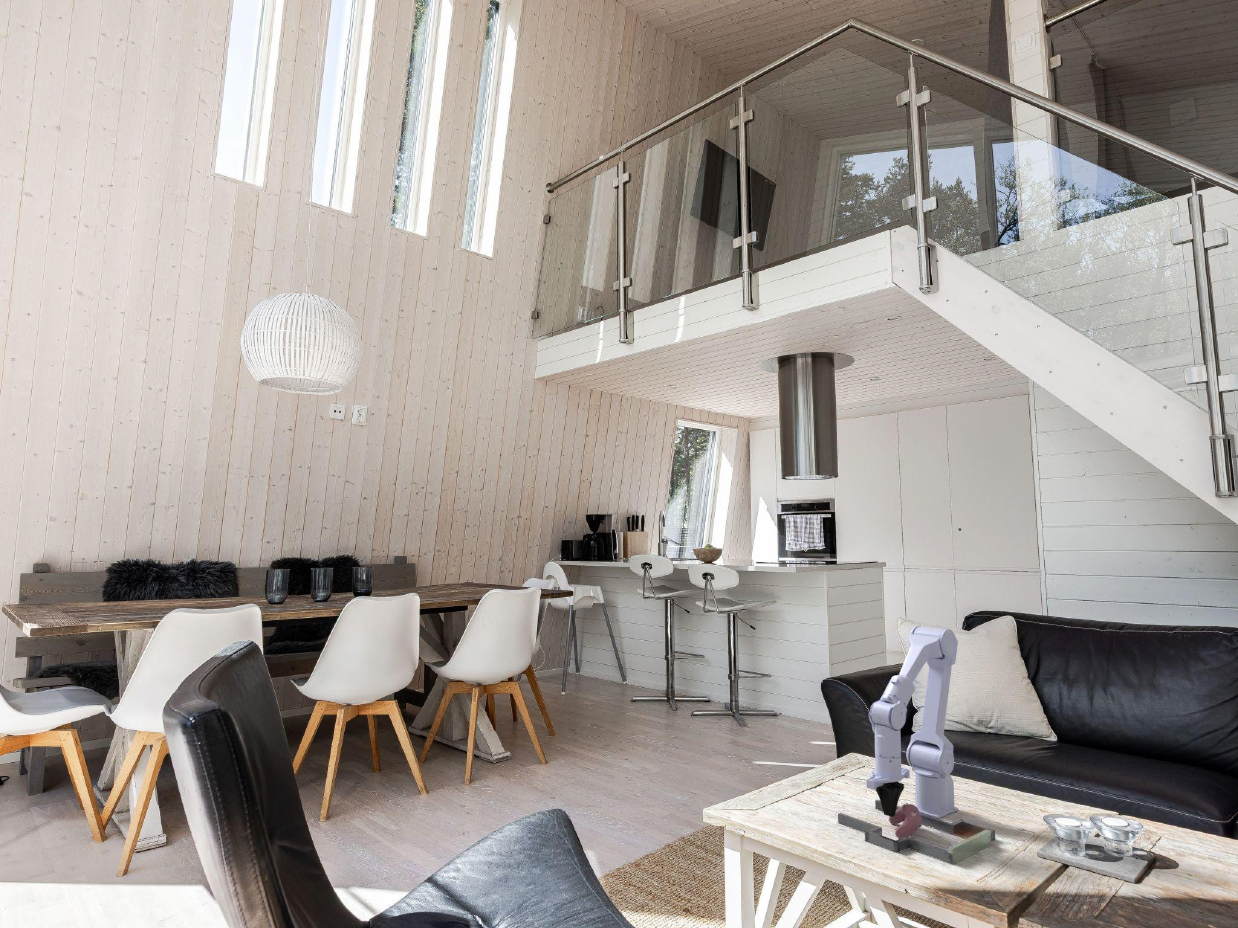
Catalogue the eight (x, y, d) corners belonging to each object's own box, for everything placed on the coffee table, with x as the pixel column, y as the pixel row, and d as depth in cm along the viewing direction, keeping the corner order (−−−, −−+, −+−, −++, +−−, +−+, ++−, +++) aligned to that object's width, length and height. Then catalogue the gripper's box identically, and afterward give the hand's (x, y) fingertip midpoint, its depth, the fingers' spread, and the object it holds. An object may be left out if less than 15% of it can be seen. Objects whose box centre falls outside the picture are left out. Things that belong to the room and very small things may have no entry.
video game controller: (913, 847, 168) (928, 819, 168) (894, 836, 169) (908, 808, 169) (905, 830, 177) (918, 803, 177) (886, 819, 178) (900, 793, 178)
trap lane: (887, 804, 190) (886, 791, 190) (999, 840, 168) (999, 826, 168) (827, 826, 175) (827, 813, 176) (942, 869, 153) (942, 853, 154)
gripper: (890, 745, 185) (891, 803, 184) (854, 755, 176) (855, 816, 175) (917, 752, 180) (918, 811, 178) (881, 763, 171) (882, 826, 170)
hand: (889, 814), depth 176 cm, fingers closed
